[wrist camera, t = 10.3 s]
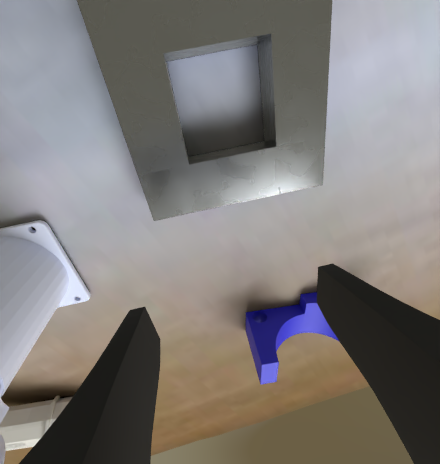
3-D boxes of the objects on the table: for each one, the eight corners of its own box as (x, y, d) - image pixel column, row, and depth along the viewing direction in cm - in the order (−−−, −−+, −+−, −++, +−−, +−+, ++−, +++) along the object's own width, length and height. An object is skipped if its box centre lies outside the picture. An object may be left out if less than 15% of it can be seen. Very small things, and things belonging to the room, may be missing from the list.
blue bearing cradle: (352, 285, 26) (395, 331, 20) (343, 314, 28) (380, 362, 23) (245, 301, 25) (262, 354, 19) (245, 329, 27) (260, 384, 22)
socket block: (157, 207, 18) (153, 220, 16) (88, -2, 12) (68, -25, 10) (306, 175, 19) (322, 184, 16) (309, -40, 13) (335, -70, 11)
